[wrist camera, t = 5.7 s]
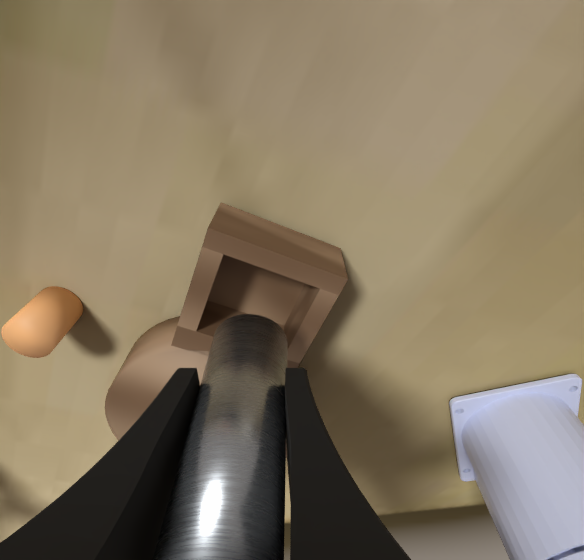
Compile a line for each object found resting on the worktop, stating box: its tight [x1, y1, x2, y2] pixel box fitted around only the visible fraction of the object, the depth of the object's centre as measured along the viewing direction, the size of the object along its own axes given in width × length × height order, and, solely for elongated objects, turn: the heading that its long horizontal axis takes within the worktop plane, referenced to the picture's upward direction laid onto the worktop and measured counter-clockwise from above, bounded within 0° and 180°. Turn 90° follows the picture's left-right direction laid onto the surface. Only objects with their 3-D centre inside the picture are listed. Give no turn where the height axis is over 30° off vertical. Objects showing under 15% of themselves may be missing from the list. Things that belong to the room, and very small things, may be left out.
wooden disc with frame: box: [105, 203, 348, 457], centre depth 20 cm, size 17×11×4 cm, turn 158°
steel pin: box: [153, 314, 288, 560], centre depth 11 cm, size 3×3×8 cm
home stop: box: [1, 287, 83, 358], centre depth 19 cm, size 2×2×3 cm
